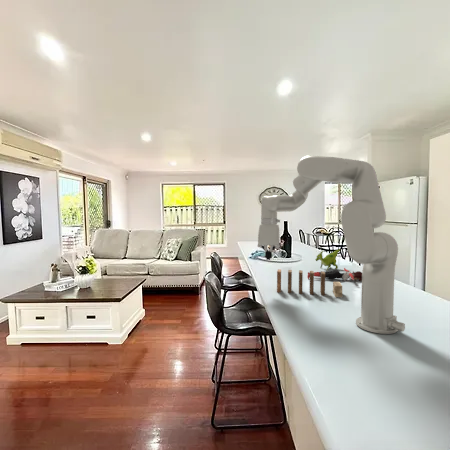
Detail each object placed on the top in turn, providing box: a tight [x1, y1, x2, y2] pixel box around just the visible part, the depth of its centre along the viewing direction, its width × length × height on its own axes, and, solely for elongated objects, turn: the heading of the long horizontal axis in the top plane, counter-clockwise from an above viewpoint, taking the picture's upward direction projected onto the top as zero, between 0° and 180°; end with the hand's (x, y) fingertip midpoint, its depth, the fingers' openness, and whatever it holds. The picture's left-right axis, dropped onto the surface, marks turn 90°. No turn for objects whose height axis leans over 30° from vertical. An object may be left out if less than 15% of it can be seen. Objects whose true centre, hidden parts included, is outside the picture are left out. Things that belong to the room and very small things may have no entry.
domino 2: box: [287, 269, 293, 294], centre depth 140 cm, size 2×5×10 cm, turn 166°
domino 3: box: [298, 270, 304, 295], centre depth 138 cm, size 2×5×10 cm, turn 166°
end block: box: [332, 281, 343, 298], centre depth 134 cm, size 3×8×5 cm, turn 166°
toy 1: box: [315, 248, 341, 271], centre depth 193 cm, size 8×21×15 cm, turn 115°
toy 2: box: [306, 267, 362, 282], centre depth 164 cm, size 28×6×30 cm
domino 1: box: [276, 268, 282, 293], centre depth 141 cm, size 2×5×10 cm, turn 166°
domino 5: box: [320, 271, 326, 296], centre depth 136 cm, size 2×5×10 cm, turn 166°
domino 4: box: [309, 270, 315, 296], centre depth 137 cm, size 2×5×10 cm, turn 166°
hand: (268, 259), depth 142 cm, fingers closed
